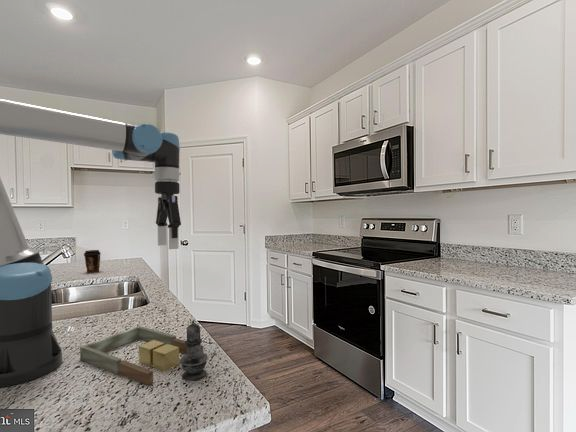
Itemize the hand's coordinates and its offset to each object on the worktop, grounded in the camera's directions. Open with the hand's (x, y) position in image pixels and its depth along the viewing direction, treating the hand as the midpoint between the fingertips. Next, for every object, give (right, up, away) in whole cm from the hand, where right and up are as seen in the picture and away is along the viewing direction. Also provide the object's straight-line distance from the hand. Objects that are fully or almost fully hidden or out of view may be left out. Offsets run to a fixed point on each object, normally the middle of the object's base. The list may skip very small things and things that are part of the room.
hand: (167, 247), depth 106 cm
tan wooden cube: (+11, -24, -31) cm, 41 cm away
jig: (+4, -24, -27) cm, 36 cm away
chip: (+7, -24, -28) cm, 38 cm away
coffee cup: (-76, -23, +86) cm, 117 cm away
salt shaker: (+19, -25, -36) cm, 47 cm away
